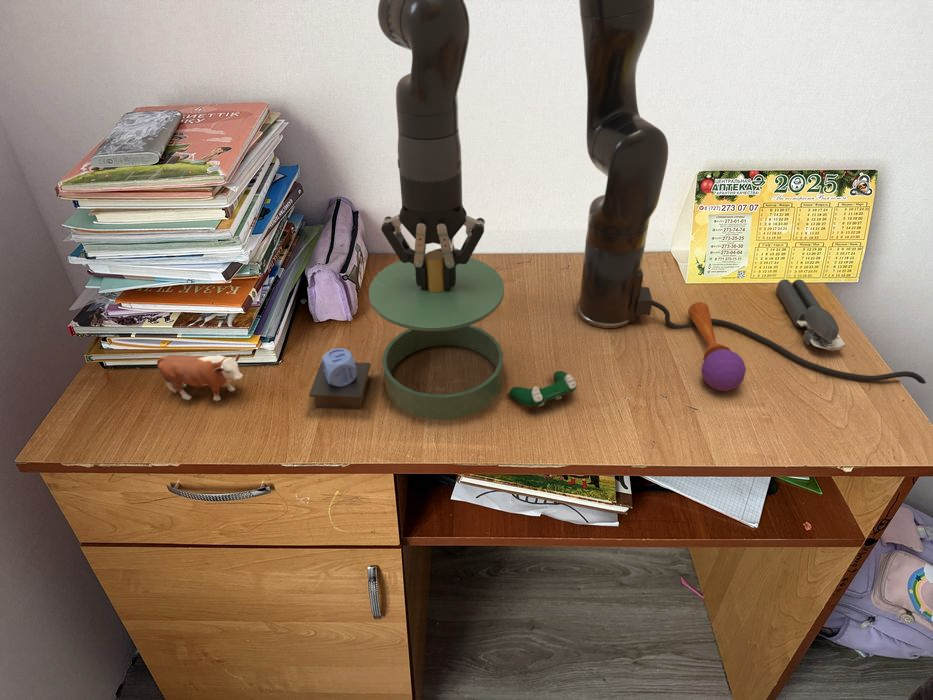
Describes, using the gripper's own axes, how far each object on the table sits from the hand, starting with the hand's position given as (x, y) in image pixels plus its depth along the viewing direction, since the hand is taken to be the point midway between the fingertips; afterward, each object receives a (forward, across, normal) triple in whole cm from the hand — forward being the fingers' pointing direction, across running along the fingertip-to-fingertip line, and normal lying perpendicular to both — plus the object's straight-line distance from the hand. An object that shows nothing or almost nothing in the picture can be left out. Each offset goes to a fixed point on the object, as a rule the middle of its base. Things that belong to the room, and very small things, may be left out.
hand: (436, 286), depth 91 cm
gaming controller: (+17, -16, +3) cm, 23 cm away
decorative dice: (+13, +14, +4) cm, 20 cm away
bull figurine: (+17, +34, +6) cm, 38 cm away
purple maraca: (+17, -41, -8) cm, 45 cm away
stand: (+17, +14, +4) cm, 22 cm away
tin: (+17, 0, 0) cm, 17 cm away
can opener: (+17, -59, -17) cm, 64 cm away
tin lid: (+1, 0, 0) cm, 1 cm away
